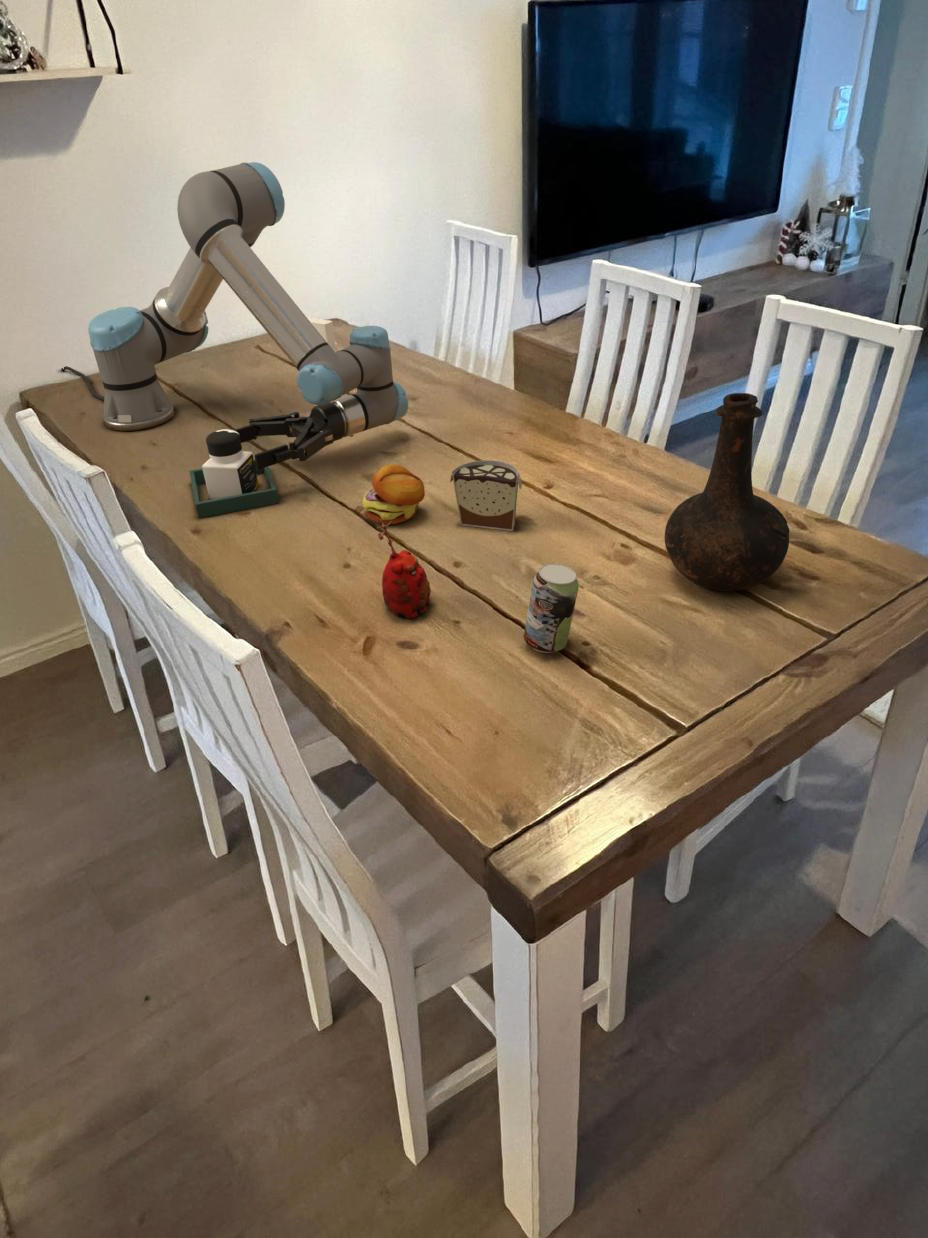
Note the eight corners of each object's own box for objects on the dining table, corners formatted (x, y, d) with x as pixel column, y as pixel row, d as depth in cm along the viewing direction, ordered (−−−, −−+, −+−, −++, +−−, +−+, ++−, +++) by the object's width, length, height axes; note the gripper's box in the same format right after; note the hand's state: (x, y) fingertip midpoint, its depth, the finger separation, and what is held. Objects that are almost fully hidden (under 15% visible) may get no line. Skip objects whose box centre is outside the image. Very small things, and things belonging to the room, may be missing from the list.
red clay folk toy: (424, 623, 131) (416, 532, 123) (377, 620, 132) (366, 530, 124) (435, 594, 137) (427, 506, 129) (390, 592, 139) (380, 505, 130)
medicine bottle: (244, 502, 167) (232, 441, 161) (209, 500, 169) (195, 440, 162) (259, 485, 173) (247, 426, 166) (225, 484, 174) (211, 425, 168)
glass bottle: (762, 619, 127) (791, 432, 112) (643, 588, 136) (655, 410, 120) (796, 561, 140) (828, 385, 124) (685, 536, 148) (701, 368, 132)
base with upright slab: (347, 365, 229) (341, 317, 223) (324, 376, 223) (317, 327, 217) (320, 361, 234) (313, 313, 227) (297, 371, 228) (289, 323, 221)
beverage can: (521, 634, 127) (519, 561, 121) (572, 630, 128) (574, 556, 121) (527, 661, 122) (526, 586, 116) (581, 656, 123) (583, 580, 116)
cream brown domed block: (531, 515, 157) (530, 462, 151) (521, 532, 152) (520, 477, 147) (464, 508, 161) (461, 455, 155) (452, 524, 156) (449, 470, 150)
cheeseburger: (379, 496, 166) (386, 448, 160) (430, 517, 164) (439, 470, 157) (350, 519, 159) (356, 470, 152) (403, 542, 156) (411, 493, 150)
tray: (192, 483, 175) (189, 470, 174) (267, 470, 179) (265, 457, 177) (198, 518, 163) (195, 504, 161) (279, 503, 166) (276, 489, 165)
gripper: (373, 455, 172) (275, 490, 162) (307, 421, 189) (214, 450, 178) (369, 418, 168) (267, 451, 157) (301, 386, 184) (206, 414, 174)
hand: (239, 451), depth 168 cm, fingers open, 13 cm apart
